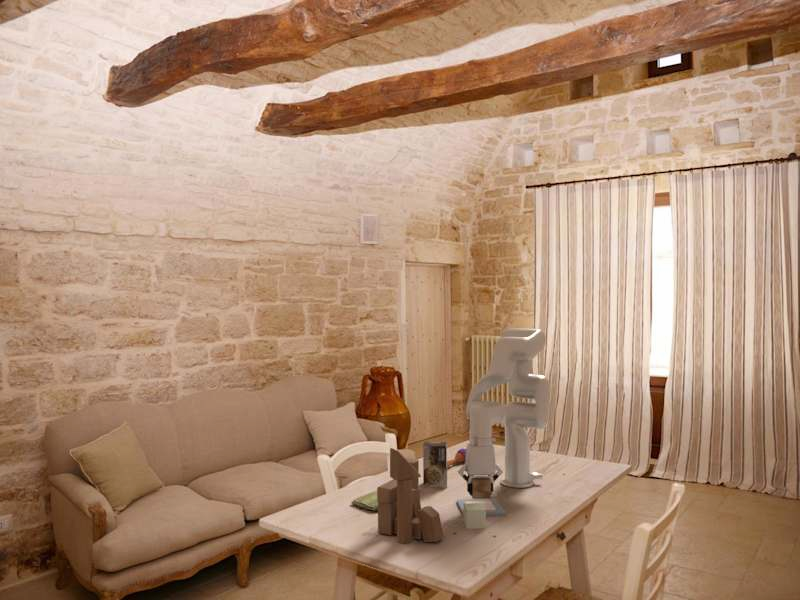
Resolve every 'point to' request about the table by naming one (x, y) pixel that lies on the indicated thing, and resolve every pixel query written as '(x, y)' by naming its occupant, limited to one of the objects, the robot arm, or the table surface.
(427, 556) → the table surface
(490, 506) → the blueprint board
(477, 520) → the sage block
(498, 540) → the table surface
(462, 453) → the kendama
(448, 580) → the table surface
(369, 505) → the washcloth
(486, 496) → the walnut block
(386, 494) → the wooden blocks
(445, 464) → the coffee box
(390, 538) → the table surface
